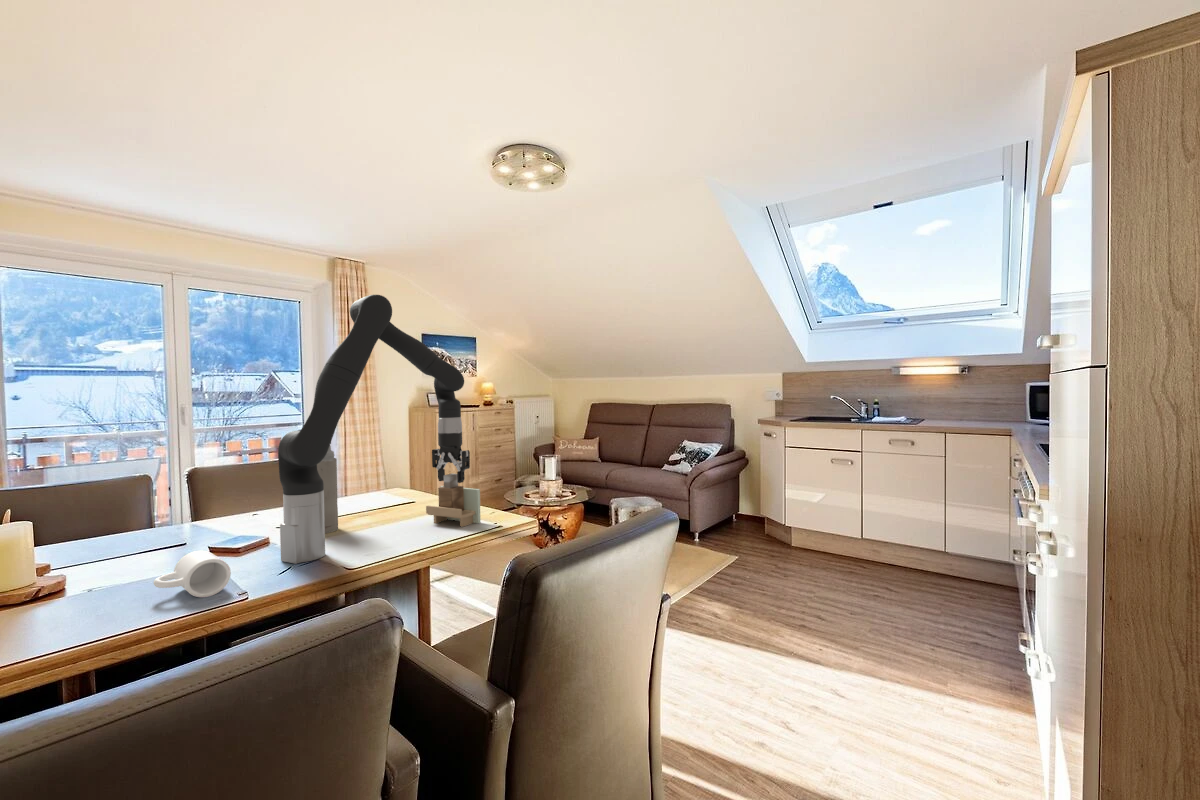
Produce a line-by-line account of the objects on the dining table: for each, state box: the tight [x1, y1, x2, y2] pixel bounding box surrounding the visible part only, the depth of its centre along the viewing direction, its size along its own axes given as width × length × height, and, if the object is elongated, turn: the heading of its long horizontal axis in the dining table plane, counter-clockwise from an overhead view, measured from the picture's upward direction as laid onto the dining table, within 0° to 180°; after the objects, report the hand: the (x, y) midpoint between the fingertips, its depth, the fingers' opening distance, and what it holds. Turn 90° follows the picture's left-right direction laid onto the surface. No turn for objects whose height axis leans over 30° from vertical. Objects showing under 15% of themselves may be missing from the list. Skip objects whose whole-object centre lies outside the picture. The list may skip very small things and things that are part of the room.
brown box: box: [438, 473, 464, 511], centre depth 167 cm, size 5×6×12 cm
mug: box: [153, 550, 232, 598], centre depth 111 cm, size 12×10×8 cm
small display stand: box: [425, 485, 481, 527], centre depth 167 cm, size 9×16×11 cm, turn 65°
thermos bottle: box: [317, 442, 339, 534], centre depth 161 cm, size 8×8×28 cm
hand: (451, 481), depth 167 cm, fingers open, 7 cm apart
